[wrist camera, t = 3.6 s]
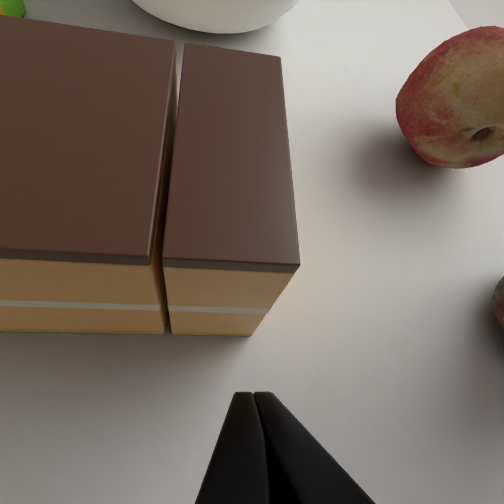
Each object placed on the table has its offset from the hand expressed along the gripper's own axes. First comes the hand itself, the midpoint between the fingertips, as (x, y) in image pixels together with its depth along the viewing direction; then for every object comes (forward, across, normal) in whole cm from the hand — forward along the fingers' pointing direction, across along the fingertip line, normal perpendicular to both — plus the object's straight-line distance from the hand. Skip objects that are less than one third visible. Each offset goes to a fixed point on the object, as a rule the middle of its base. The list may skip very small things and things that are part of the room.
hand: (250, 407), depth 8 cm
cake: (+11, +7, 0) cm, 13 cm away
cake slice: (+12, 0, -1) cm, 13 cm away
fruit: (+18, -14, -6) cm, 24 cm away
